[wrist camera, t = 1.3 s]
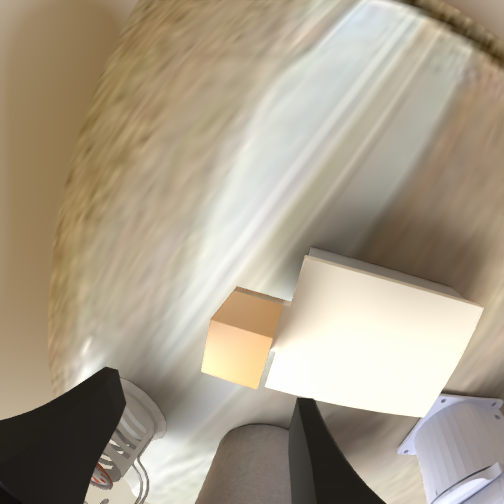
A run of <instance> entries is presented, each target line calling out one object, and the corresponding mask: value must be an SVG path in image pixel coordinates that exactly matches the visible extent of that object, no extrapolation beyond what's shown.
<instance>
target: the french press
mask: <svg viewBox="0 0 504 504" xmlns="http://www.w3.org/2000/svg"><path fill="white" fill-rule="evenodd" d="M120 381H121V384H122V388H123V392H124V396H125V399H126V406H125V409H124V412H123V414H122V417H121V420H120V422H119V424H118V426H117V428H116V430H115V431H114V433H113V435H112V437H111V440H113V441H115V442H116V444H117V445H119V446H120V447H118V446H116V445H113V444H110V443H109V442H108V444H107V446H106V448H105V450H104V451H103V453H102V454H103V455H106V456H108V457H110V459H111V460H112V461H107V460H105V459H102V458H100V459H99V461H98V462H100V463H102V464H105V465H110V466H113V467H112V469H104V468H103V467H102V466H101V465H100V464H99V463H97V465H96V467H95V470H94V473H93V475H92V478H91V481H90V484H92V485H93V486H96V487H98V488H100V489H105V490H107V489H111V488H112V486H113V482H117V481H119V480H120V478H121V477H122V478H123V476H124V475H125V473H126V472H127V471H128V469H129V468H130V466H131V465H132V466H133V468H134V469H135V471H136V473H137V474H138V477H139V480H140V494H139V496H138V498H137V500H136V502H135V504H137V503H138V502H139V500H140V499H141V495H142V491H143V481H142V479H141V475H140V473H139V472H138V470H137V469H136V467H135V466H134V461H135V459H136V458H137V461H138V463H139V464H140V466H141V468H142V469H143V471H144V473H145V476H146V479H147V488H146V492H145V496H144V497H143V499H142V500H141V502H140V504H143V503H144V501H145V499H146V497H147V495H148V491H149V479H148V476H147V473H146V470H145V469H144V467H143V466H142V464H141V462H140V456H141V455H142V453H143V452H144V451H145V449H146V448H147V446H148V445H149V443H150V442H151V441H153V440H157V439H160V438H162V437H163V435H164V434H165V432H166V431H167V430H166V420H165V418H164V416H163V414H162V412H161V411H160V409H159V407H158V405H157V404H156V403H155V402H154V401H153V400H152V399H151V398H150V397H149V396H148V395H147V394H146V393H145V392H144V391H143V390H141V389H140V388H138V387H137V386H136V385H134V384H133V383H131V382H130V381H128V380H125V379H123V378H120ZM126 444H127V445H129V446H127V445H126ZM117 451H123V452H124V453H123V454H119V453H118V452H117ZM108 502H109V500H108V499H104V500H103V501H102V502H101V503H100V504H107V503H108ZM84 504H88V503H87V502H86V501H85V500H84Z"/></svg>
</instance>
